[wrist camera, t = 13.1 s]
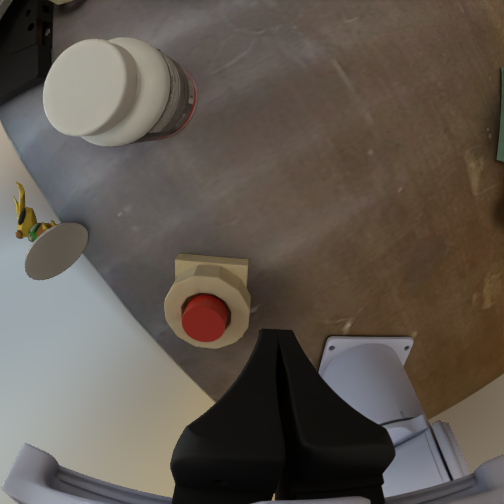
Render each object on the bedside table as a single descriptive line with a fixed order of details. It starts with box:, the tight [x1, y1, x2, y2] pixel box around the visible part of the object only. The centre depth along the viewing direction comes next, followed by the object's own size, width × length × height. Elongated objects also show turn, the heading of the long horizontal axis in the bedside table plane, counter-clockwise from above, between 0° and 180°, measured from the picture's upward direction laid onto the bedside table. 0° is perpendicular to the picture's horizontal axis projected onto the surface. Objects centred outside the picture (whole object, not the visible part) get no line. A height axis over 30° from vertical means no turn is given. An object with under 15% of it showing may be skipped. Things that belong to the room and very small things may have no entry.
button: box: [182, 294, 227, 342], centre depth 20 cm, size 3×3×2 cm
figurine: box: [14, 182, 88, 280], centre depth 20 cm, size 6×6×8 cm
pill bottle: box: [43, 37, 198, 147], centre depth 14 cm, size 5×5×10 cm
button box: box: [164, 253, 251, 349], centre depth 22 cm, size 6×6×3 cm
